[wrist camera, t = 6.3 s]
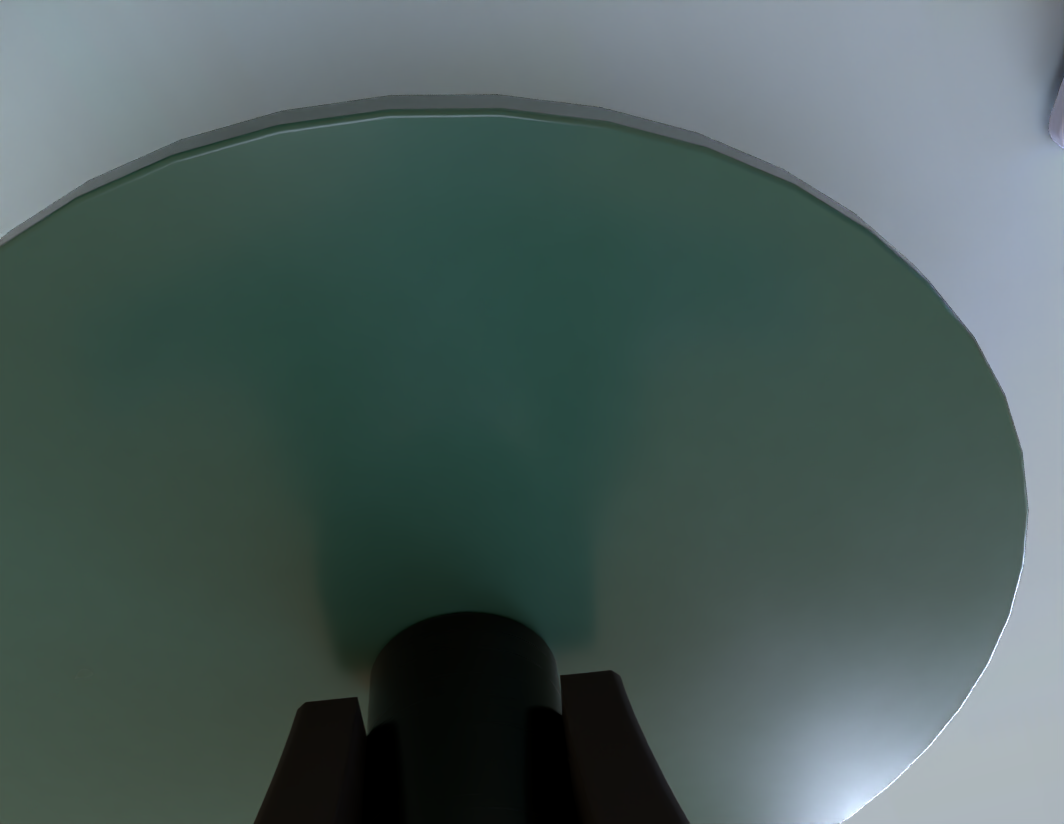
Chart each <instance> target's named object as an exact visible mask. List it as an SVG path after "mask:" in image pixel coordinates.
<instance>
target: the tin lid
mask: <svg viewBox="0 0 1064 824" xmlns="http://www.w3.org/2000/svg"><path fill="white" fill-rule="evenodd" d="M1028 511H1029V510H1028V500H1027V491H1026V481H1025V471H1024V461H1023V452H1022V449H1021V445H1020V442H1019V439H1018V436H1017V432H1016V429H1015V426H1014V422H1013V419H1012V416H1011V413H1010V409H1009V406H1008V403H1007V400H1006V396H1005V394H1004V392H1003V390H1002V388H1001V386H1000V384H999V382H998V380H997V379H996V377H995V375H994V373H993V371H992V369H991V367H990V365H989V364H988V362H987V360H986V358H985V356H984V354H983V352H982V351H981V349H980V347H979V345H978V343H977V341H976V339H975V337H974V336H973V335H972V334H971V332H970V331H969V330H968V329H967V327H966V326H965V325H964V324H963V322H962V321H961V320H960V319H959V317H958V316H957V315H956V314H955V312H954V311H953V310H952V309H951V307H950V306H949V305H948V304H947V303H946V301H945V300H944V299H943V298H942V296H941V295H940V294H939V293H938V291H937V290H936V289H935V288H934V286H933V285H932V284H931V283H930V281H929V280H928V279H927V278H926V277H925V276H924V275H923V274H922V273H921V272H920V271H919V270H918V269H917V267H916V266H915V265H914V264H913V263H911V262H910V261H909V260H908V259H907V258H906V257H905V256H903V255H902V254H901V253H900V252H899V251H898V250H896V249H895V248H894V247H893V246H892V245H891V244H890V243H888V242H887V241H886V240H885V239H884V238H883V237H882V236H880V235H879V234H878V233H877V232H876V231H875V230H874V229H872V228H871V227H870V226H869V225H868V224H867V223H865V222H864V221H863V220H862V219H861V218H860V217H859V216H857V215H856V214H855V213H853V212H852V211H850V210H849V209H847V208H845V207H844V206H842V205H840V204H839V203H837V202H836V201H834V200H832V199H831V198H829V197H828V196H826V195H824V194H823V193H821V192H819V191H818V190H816V189H815V188H813V187H811V186H810V185H808V184H806V183H805V182H803V181H802V180H800V179H798V178H797V177H795V176H793V175H792V174H790V173H789V172H787V171H785V170H784V169H782V168H779V167H777V166H775V165H772V164H770V163H768V162H765V161H763V160H761V159H758V158H756V157H754V156H751V155H749V154H746V153H744V152H742V151H739V150H737V149H735V148H732V147H730V146H728V145H725V144H723V143H721V142H718V141H716V140H713V139H711V138H709V137H706V136H704V135H702V134H699V133H697V132H693V131H689V130H685V129H682V128H678V127H674V126H670V125H666V124H663V123H659V122H655V121H651V120H647V119H644V118H640V117H636V116H632V115H629V114H625V113H621V112H617V111H613V110H610V109H606V108H602V107H595V106H587V105H579V104H571V103H563V102H554V101H546V100H538V99H530V98H522V97H514V96H506V95H498V94H491V95H390V96H382V97H375V98H368V99H361V100H354V101H347V102H340V103H333V104H326V105H319V106H312V107H305V108H298V109H291V110H284V111H280V112H276V113H273V114H269V115H266V116H262V117H259V118H255V119H252V120H248V121H245V122H241V123H238V124H234V125H231V126H227V127H224V128H220V129H217V130H213V131H210V132H206V133H202V134H199V135H195V136H192V137H188V138H185V139H181V140H179V141H177V142H174V143H172V144H170V145H168V146H165V147H163V148H161V149H159V150H156V151H154V152H152V153H150V154H147V155H145V156H143V157H141V158H138V159H136V160H134V161H132V162H129V163H127V164H125V165H123V166H120V167H118V168H116V169H114V170H111V171H109V172H107V173H105V174H102V175H100V176H98V177H96V178H93V179H91V180H89V181H87V182H86V183H84V184H83V185H81V186H79V187H78V188H76V189H75V190H73V191H72V192H70V193H68V194H67V195H65V196H64V197H62V198H61V199H59V200H58V201H56V202H54V203H53V204H51V205H50V206H48V207H47V208H45V209H43V210H42V211H40V212H39V213H37V214H36V215H34V216H33V217H31V218H29V219H28V220H26V221H25V222H23V223H22V224H20V225H19V226H17V227H15V228H14V229H12V230H11V231H9V232H8V233H7V234H6V235H5V236H4V237H2V238H1V239H0V824H254V821H255V819H256V817H257V814H258V812H259V809H260V807H261V805H262V802H263V800H264V798H265V795H266V793H267V790H268V788H269V786H270V783H271V781H272V778H273V776H274V773H275V771H276V768H277V766H278V763H279V760H280V758H281V755H282V752H283V750H284V747H285V744H286V741H287V739H288V736H289V733H290V730H291V727H292V724H293V721H294V718H295V715H296V712H297V709H298V708H299V707H301V706H302V705H303V704H304V703H305V702H311V701H321V700H330V699H340V698H349V697H358V701H359V706H360V710H361V714H362V718H363V722H364V726H365V731H366V735H367V742H366V759H365V776H364V793H363V810H362V824H579V821H578V816H577V811H576V806H575V801H574V796H573V790H572V783H571V776H570V769H569V762H568V755H567V748H566V740H565V733H564V726H563V719H562V705H561V683H560V675H569V674H578V673H588V672H597V671H607V670H612V671H614V672H615V673H617V674H618V675H620V676H621V679H622V682H623V685H624V688H625V691H626V693H627V696H628V699H629V701H630V704H631V706H632V709H633V711H634V714H635V716H636V718H637V720H638V723H639V725H640V727H641V730H642V732H643V734H644V736H645V738H646V740H647V743H648V745H649V747H650V749H651V751H652V753H653V755H654V757H655V759H656V761H657V763H658V765H659V767H660V769H661V771H662V773H663V775H664V777H665V779H666V781H667V783H668V784H669V786H670V788H671V790H672V792H673V794H674V796H675V798H676V799H677V801H678V803H679V805H680V807H681V808H682V810H683V812H684V814H685V815H686V817H687V819H688V821H689V822H690V824H841V823H842V822H844V821H845V820H847V819H848V818H850V817H851V816H852V815H854V814H855V813H856V812H857V811H859V810H860V809H861V808H862V807H864V806H865V805H866V804H867V803H869V802H870V801H871V800H872V799H874V798H875V797H876V796H877V795H879V794H880V793H881V792H882V791H884V790H885V789H886V788H887V787H889V786H890V785H891V784H892V783H893V782H894V781H895V780H896V779H897V778H898V777H899V776H900V775H901V774H903V773H904V772H905V771H906V770H907V769H908V768H909V767H910V766H911V765H912V764H913V763H914V762H915V761H916V760H917V759H918V758H919V757H920V756H921V755H922V754H923V753H924V752H925V751H926V750H927V749H928V748H929V747H930V746H931V744H932V743H933V742H934V741H935V740H936V738H937V737H938V736H939V735H940V733H941V732H942V731H943V730H944V729H945V727H946V726H947V725H948V724H949V722H950V721H951V720H952V719H953V718H954V716H955V715H956V714H957V713H958V711H959V710H960V709H961V708H962V706H963V705H964V703H965V701H966V700H967V698H968V697H969V695H970V693H971V692H972V690H973V689H974V687H975V685H976V684H977V682H978V681H979V679H980V677H981V676H982V674H983V673H984V671H985V669H986V668H987V666H988V665H989V663H990V661H991V658H992V656H993V654H994V652H995V649H996V647H997V645H998V643H999V640H1000V638H1001V636H1002V634H1003V631H1004V629H1005V627H1006V625H1007V622H1008V620H1009V618H1010V615H1011V612H1012V608H1013V604H1014V600H1015V597H1016V593H1017V589H1018V585H1019V581H1020V578H1021V574H1022V570H1023V566H1024V558H1025V547H1026V535H1027V523H1028Z"/></svg>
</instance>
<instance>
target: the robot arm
mask: <svg viewBox="0 0 1064 824" xmlns="http://www.w3.org/2000/svg"><path fill="white" fill-rule="evenodd" d="M1048 129H1049V132H1050V136H1051V139H1052V140H1053V141H1054V142H1056V143H1057V144H1058V145H1059V146H1060V147H1062V148H1063V149H1064V78H1063V80H1062V83H1061V86H1060V89H1059V92H1058V95H1057V98H1056V100H1055V103H1054V106H1053V109H1052V112H1051V115H1050V120H1049V126H1048ZM560 683H561V705H562V719H563V726H564V733H565V740H566V748H567V755H568V762H569V769H570V776H571V783H572V790H573V796H574V801H575V806H576V811H577V816H578V821H579V824H690V822H689V821H688V819H687V817H686V815H685V814H684V812H683V810H682V808H681V807H680V805H679V803H678V801H677V799H676V798H675V796H674V794H673V792H672V790H671V788H670V786H669V784H668V783H667V781H666V779H665V777H664V775H663V773H662V771H661V769H660V767H659V765H658V763H657V761H656V759H655V757H654V755H653V753H652V751H651V749H650V747H649V745H648V743H647V740H646V738H645V736H644V734H643V732H642V730H641V727H640V725H639V723H638V720H637V718H636V716H635V714H634V711H633V709H632V706H631V704H630V701H629V699H628V696H627V693H626V691H625V688H624V685H623V682H622V679H621V676H620V675H618V674H617V673H615V672H614V671H612V670H607V671H597V672H588V673H578V674H569V675H560ZM366 742H367V735H366V731H365V726H364V722H363V718H362V714H361V710H360V706H359V701H358V697H349V698H340V699H330V700H321V701H311V702H305V703H304V704H303V705H302V706H301V707H299V708H298V709H297V712H296V715H295V718H294V721H293V724H292V727H291V730H290V733H289V736H288V739H287V741H286V744H285V747H284V750H283V752H282V755H281V758H280V760H279V763H278V766H277V768H276V771H275V773H274V776H273V778H272V781H271V783H270V786H269V788H268V790H267V793H266V795H265V798H264V800H263V802H262V805H261V807H260V809H259V812H258V814H257V817H256V819H255V821H254V824H362V810H363V793H364V776H365V759H366Z"/></svg>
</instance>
